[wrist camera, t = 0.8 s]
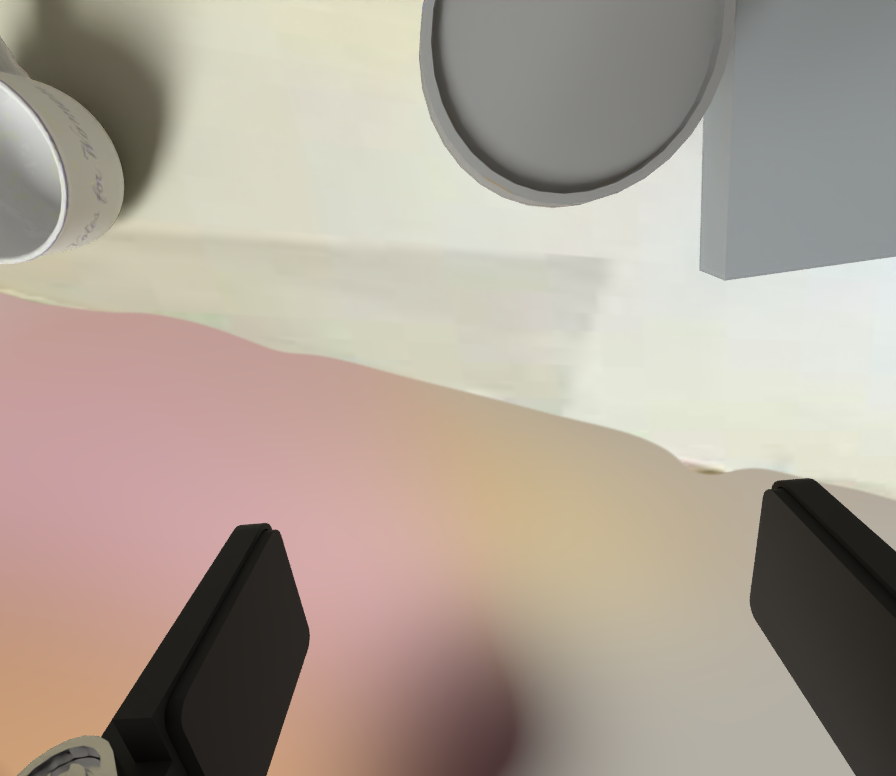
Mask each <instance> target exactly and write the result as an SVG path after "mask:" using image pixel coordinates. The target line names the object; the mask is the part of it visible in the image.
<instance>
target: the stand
mask: <svg viewBox="0 0 896 776" xmlns="http://www.w3.org/2000/svg"><path fill="white" fill-rule="evenodd" d="M895 256H896V0H736V8H735V20H734V31H733V39H732V43H731V47H730V51H729V55H728V59H727V63H726V67H725V71H724V74H723V76H722V79H721V81H720V83H719V85H718V88H717V90H716V92H715V95H714V97H713V99H712V102H711V104H710V106H709V107H708V109H707V111H706V112H705V114H704V121H703V159H702V198H701V236H700V271H703V272H705V273H708V274H710V275H713V276H715V277H718V278H720V279H723V280H732V279H739V278H746V277H753V276H760V275H767V274H774V273H781V272H788V271H796V270H803V269H810V268H817V267H824V266H831V265H838V264H845V263H852V262H859V261H866V260H874V259H881V258H888V257H895Z"/></svg>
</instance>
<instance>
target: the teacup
mask: <svg viewBox="0 0 896 776" xmlns="http://www.w3.org/2000/svg"><path fill="white" fill-rule="evenodd" d="M123 196H124V178H123V171H122V167H121V163H120V160H119V157H118V154H117V152H116V149H115V147H114V145H113V143H112V141H111V139H110V138H109V136H108V134H107V133H106V131H105V130H104V128H103V127H102V126H101V124H100V123H99V122H98V121H97V120H96V118H95V117H94V116H93V115H92V114H91V113H90V112H89V111H88V110H87V109H86V108H84V107H83V106H82V105H81V104H80V103H78V102H77V101H76V100H74V99H73V98H72V97H70V96H68V95H67V94H65V93H63V92H62V91H60V90H58V89H56V88H54V87H51V86H49V85H47V84H44V83H41V82H38V81H35V80H32V79H31V78H30V76H29V75H28V74H27V73H26V71H25V70H24V69H22V68H21V67H20V66H19V65H18V63H17V62H16V60H15V58H14V57H13V55H12V54H11V52H10V50H9V49H8V47H7V46H6V44H5V43H4V41H3V40H2V38H1V37H0V263H1V264H14V263H22V262H27V261H30V260H33V259H35V258H38V257H40V256H46V255H51V254H55V253H60V252H64V251H68V250H72V249H75V248H78V247H81V246H84V245H86V244H89V243H91V242H93V241H94V240H96V239H98V238H99V237H101V236H102V235H103V234H105V233H106V232H107V231H108V230H109V228H110V227H111V226H112V225H113V223H114V222H115V220H116V219H117V217H118V215H119V212H120V209H121V206H122V202H123Z"/></svg>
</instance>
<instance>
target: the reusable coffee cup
mask: <svg viewBox="0 0 896 776" xmlns="http://www.w3.org/2000/svg"><path fill="white" fill-rule="evenodd" d="M735 8H736V0H424V2H423V7H422V18H421V32H420V48H419V62H420V71H421V81H422V89H423V93H424V96H425V100H426V103H427V107H428V110H429V114H430V117H431V120H432V122H433V124H434V126H435V128H436V130H437V132H438V134H439V136H440V138H441V140H442V142H443V144H444V146H445V147H446V148H447V150H448V151H449V152H450V154H451V155H452V156H453V157H454V159H455V160H456V161H457V163H458V164H459V165H460V167H461V168H462V169H464V170H465V171H466V172H467V173H468V174H469V175H470V176H472V177H473V178H474V179H475V180H476V181H477V182H478V183H479V184H481V185H482V186H484V187H486V188H487V189H489V190H491V191H493V192H494V193H496V194H498V195H500V196H501V197H503V198H506V199H510V200H513V201H516V202H519V203H522V204H525V205H530V206H540V207H550V208H555V207H565V206H574V205H580V204H584V203H587V202H590V201H593V200H596V199H599V198H603V197H606V196H609V195H612V194H615V193H618V192H620V191H622V190H624V189H626V188H628V187H629V186H631V185H633V184H635V183H637V182H639V181H641V180H643V179H644V178H646V177H647V176H648V175H650V174H651V173H652V172H653V171H655V170H656V169H657V168H658V167H660V166H661V165H662V164H663V163H665V162H666V161H667V160H668V159H670V158H671V156H672V155H673V154H674V153H675V152H676V151H677V150H678V149H679V148H680V146H681V145H682V144H683V143H684V142H685V141H686V140H687V139H688V137H689V136H690V135H691V134H692V133H693V131H694V129H695V128H696V126H697V125H698V123H699V122H700V120H701V118H702V117H703V115H704V114H705V112H706V111H707V109H708V107H709V106H710V104H711V102H712V99H713V97H714V95H715V92H716V90H717V88H718V85H719V83H720V81H721V79H722V76H723V74H724V71H725V67H726V63H727V59H728V55H729V51H730V47H731V43H732V39H733V31H734V20H735Z"/></svg>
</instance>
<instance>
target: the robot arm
mask: <svg viewBox="0 0 896 776" xmlns="http://www.w3.org/2000/svg"><path fill="white" fill-rule="evenodd" d="M750 606H751V610H752V614H753V616H754V618H755V620H756V622H757V623H758V625H759V626H760V628H761V629H762V631H763V632H764V634H765V636H766V637H767V639H768V640H769V642H770V643H771V645H772V647H773V648H774V649H775V651H776V653H777V654H778V656H779V657H780V659H781V660H782V662H783V664H784V665H785V667H786V668H787V670H788V671H789V673H790V674H791V676H792V677H793V679H794V680H795V682H796V684H797V685H798V687H799V688H800V690H801V691H802V693H803V695H804V696H805V698H806V699H807V701H808V702H809V704H810V705H811V707H812V708H813V710H814V712H815V713H816V715H817V716H818V718H819V719H820V721H821V722H822V724H823V725H824V727H825V729H826V730H827V732H828V733H829V735H830V736H831V738H832V739H833V741H834V743H835V744H836V745H837V747H838V749H839V750H840V752H841V753H842V755H843V756H844V758H845V760H846V761H847V763H848V764H849V766H850V767H851V769H852V770H853V772H854V774H855V775H856V776H896V551H894V550H893V549H892V548H891V547H890V546H889V545H888V544H887V543H885V542H884V541H883V540H882V539H881V538H880V537H879V536H878V535H876V534H875V533H874V532H873V531H872V530H871V529H869V528H868V527H867V526H866V525H865V524H864V523H863V522H862V521H861V520H859V519H858V518H857V517H856V516H855V515H854V514H852V512H850V511H849V510H848V509H847V508H846V507H845V506H844V505H842V504H841V503H840V502H839V501H838V500H837V499H836V498H835V497H833V496H832V495H831V494H830V493H829V492H828V491H827V490H826V489H824V488H823V487H822V486H821V485H820V484H819V483H818V482H816V481H815V480H813V479H809V478H805V479H795V480H794V479H793V480H781V481H777V482H775V483H774V484H773V486H772V489H768V490H766V491H765V492H764V495H763V501H762V509H761V516H760V524H759V533H758V539H757V547H756V555H755V562H754V570H753V578H752V585H751V593H750ZM309 638H310V634H309V627H308V624H307V621H306V617H305V614H304V611H303V607H302V604H301V600H300V597H299V594H298V590H297V587H296V584H295V580H294V577H293V573H292V570H291V567H290V564H289V560H288V557H287V553H286V550H285V547H284V543H283V540H282V537H281V534H280V532H279V531H278V530H272V528H271V526H270V525H269V524H267V523H261V524H249V525H240V526H237V527H236V528H235V529H234V531H233V532H232V534H231V535H230V537H229V539H228V540H227V542H226V543H225V545H224V546H223V548H222V549H221V551H220V553H219V554H218V556H217V557H216V559H215V560H214V562H213V564H212V565H211V567H210V568H209V570H208V571H207V573H206V574H205V576H204V578H203V579H202V581H201V582H200V584H199V585H198V587H197V588H196V590H195V592H194V593H193V595H192V596H191V598H190V599H189V601H188V602H187V604H186V606H185V607H184V609H183V610H182V612H181V614H180V615H179V616H178V618H177V619H176V621H175V623H174V624H173V626H172V627H171V629H170V630H169V632H168V633H167V635H166V637H165V638H164V640H163V641H162V643H161V644H160V646H159V647H158V649H157V651H156V652H155V654H154V655H153V657H152V658H151V660H150V661H149V663H148V665H147V666H146V668H145V669H144V671H143V672H142V674H141V675H140V677H139V679H138V680H137V682H136V683H135V685H134V686H133V688H132V689H131V691H130V692H129V694H128V696H127V697H126V699H125V701H124V702H123V703H122V705H121V707H120V708H119V710H118V711H117V713H116V714H115V716H114V718H113V719H112V721H111V722H110V724H109V725H108V727H107V729H106V730H105V732H104V733H103V735H102V737H99V736H82V737H78V738H74V739H70V740H67V741H65V742H63V743H61V744H59V745H57V746H55V747H53V748H51V749H49V750H48V751H46V752H45V753H44V754H42V755H41V756H39V757H38V758H36V759H35V760H33V761H32V762H31V763H30V764H29V765H28V766H27V767H26V768H25V769H24V770H23V771H21V772H20V773H19V774H18V775H17V776H266V775H267V772H268V769H269V766H270V763H271V760H272V757H273V754H274V751H275V747H276V745H277V742H278V739H279V735H280V732H281V729H282V726H283V723H284V720H285V717H286V714H287V711H288V708H289V705H290V702H291V699H292V696H293V693H294V690H295V687H296V683H297V680H298V678H299V675H300V672H301V669H302V665H303V662H304V659H305V656H306V653H307V650H308V646H309Z"/></svg>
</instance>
